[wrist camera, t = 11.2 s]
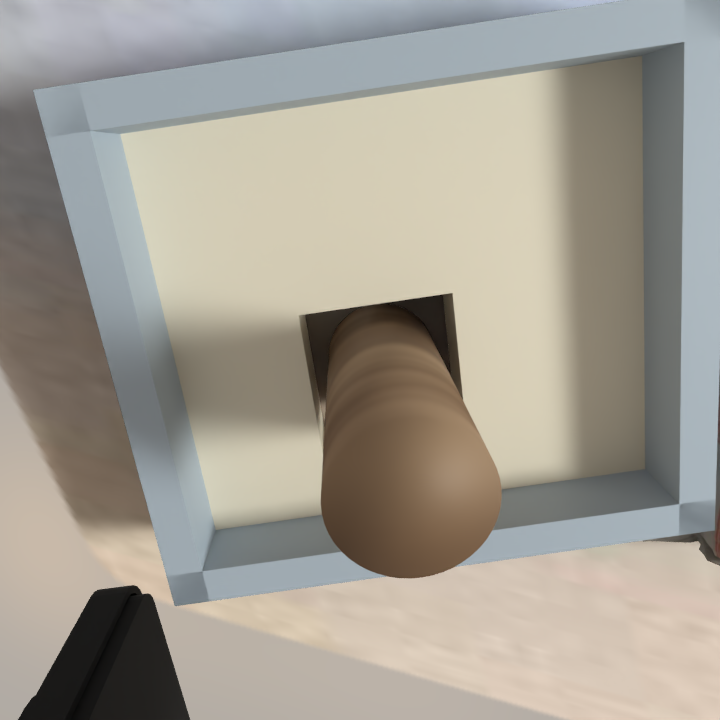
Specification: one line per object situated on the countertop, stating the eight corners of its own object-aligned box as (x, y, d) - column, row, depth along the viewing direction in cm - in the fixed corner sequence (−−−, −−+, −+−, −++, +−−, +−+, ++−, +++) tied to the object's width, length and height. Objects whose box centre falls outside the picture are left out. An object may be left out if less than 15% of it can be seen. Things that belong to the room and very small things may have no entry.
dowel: (321, 311, 24) (307, 431, 14) (426, 296, 24) (494, 404, 14) (337, 409, 25) (335, 589, 15) (438, 395, 25) (508, 565, 15)
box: (100, 104, 22) (32, 89, 17) (643, 22, 21) (730, -16, 17) (204, 525, 27) (174, 606, 22) (646, 462, 26) (714, 530, 22)
